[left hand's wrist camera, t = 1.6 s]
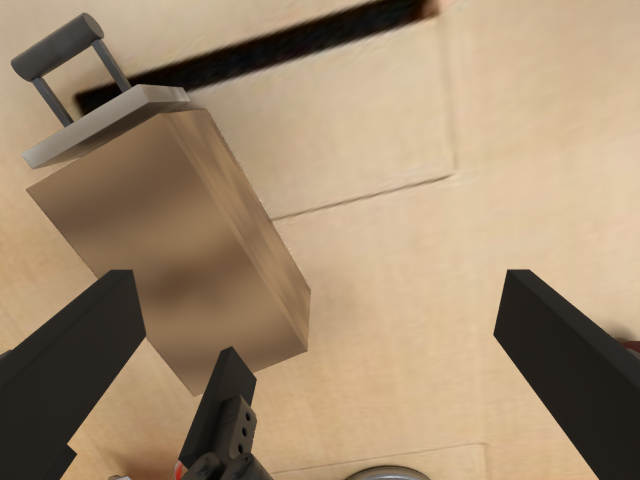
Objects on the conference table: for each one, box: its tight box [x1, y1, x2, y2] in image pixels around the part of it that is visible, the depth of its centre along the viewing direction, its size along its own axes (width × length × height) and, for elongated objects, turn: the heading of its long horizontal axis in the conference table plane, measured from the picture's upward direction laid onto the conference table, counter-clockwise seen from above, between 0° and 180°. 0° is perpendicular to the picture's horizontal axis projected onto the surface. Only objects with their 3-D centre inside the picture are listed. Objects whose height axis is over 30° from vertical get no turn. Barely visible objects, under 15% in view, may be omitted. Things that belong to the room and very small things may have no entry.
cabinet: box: [26, 109, 311, 397], centre depth 31 cm, size 21×11×10 cm, turn 26°
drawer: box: [11, 13, 190, 169], centre depth 30 cm, size 25×10×8 cm, turn 26°
